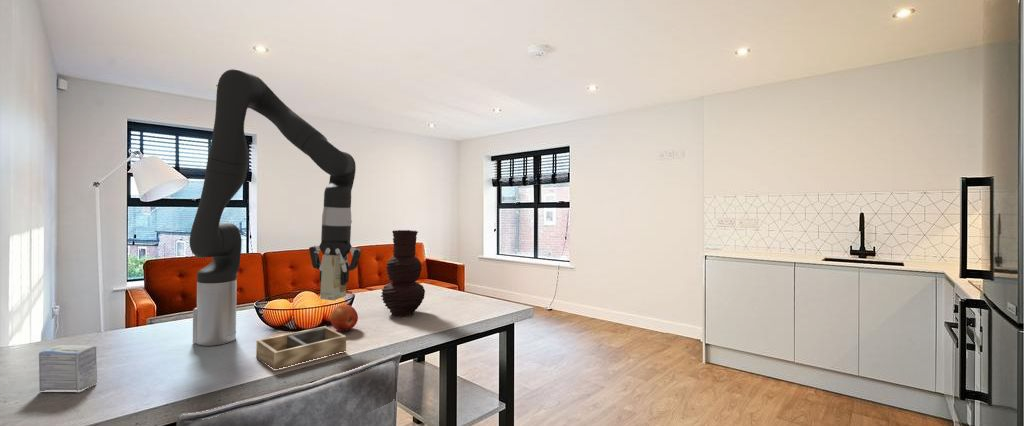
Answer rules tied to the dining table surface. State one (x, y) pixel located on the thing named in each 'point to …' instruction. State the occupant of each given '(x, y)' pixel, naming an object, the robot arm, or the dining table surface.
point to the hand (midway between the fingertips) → (334, 283)
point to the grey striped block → (67, 367)
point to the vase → (403, 276)
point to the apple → (344, 317)
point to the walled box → (300, 347)
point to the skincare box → (332, 278)
